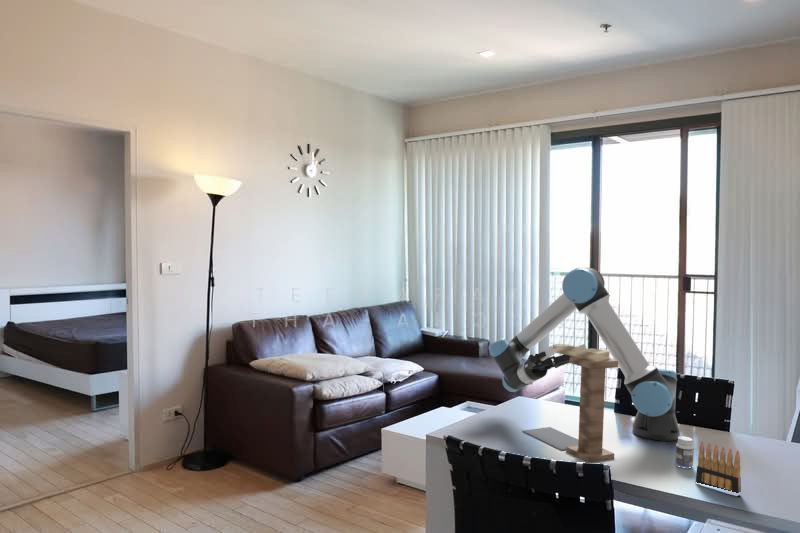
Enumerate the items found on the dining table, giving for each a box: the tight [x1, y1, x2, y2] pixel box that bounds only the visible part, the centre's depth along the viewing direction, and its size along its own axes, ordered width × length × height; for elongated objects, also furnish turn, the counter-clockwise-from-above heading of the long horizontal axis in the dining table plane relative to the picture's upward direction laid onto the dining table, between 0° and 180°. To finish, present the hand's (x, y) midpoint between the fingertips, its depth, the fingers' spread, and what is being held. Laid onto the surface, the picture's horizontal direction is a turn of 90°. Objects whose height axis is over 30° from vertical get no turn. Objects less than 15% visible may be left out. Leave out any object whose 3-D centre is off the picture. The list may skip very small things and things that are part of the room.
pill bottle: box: [674, 435, 695, 469], centre depth 169 cm, size 5×5×8 cm
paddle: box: [552, 343, 611, 362], centre depth 179 cm, size 17×7×2 cm, turn 41°
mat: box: [521, 426, 579, 452], centre depth 191 cm, size 20×12×1 cm, turn 25°
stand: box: [565, 356, 619, 463], centre depth 176 cm, size 10×10×30 cm
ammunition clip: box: [695, 441, 742, 493], centre depth 152 cm, size 11×2×12 cm, turn 41°
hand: (569, 348), depth 185 cm, fingers open, 13 cm apart
